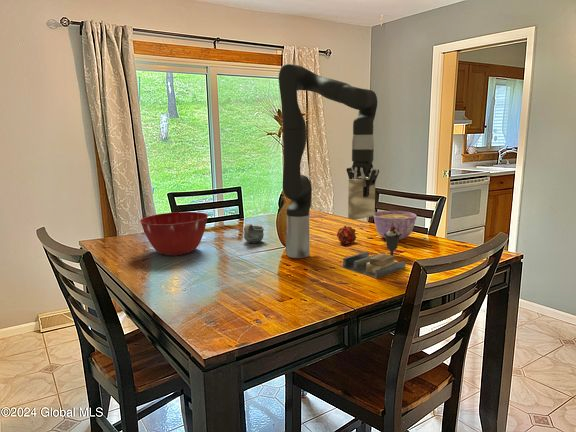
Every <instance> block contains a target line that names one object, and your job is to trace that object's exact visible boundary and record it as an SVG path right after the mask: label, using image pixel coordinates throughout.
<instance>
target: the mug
mask: <svg viewBox="0 0 576 432" xmlns="http://www.w3.org/2000/svg"><path fill="white" fill-rule="evenodd" d="M264 230H265V227H264V226H262V225H253V224H252V223H246V224H245V225H244V228H243V232H244V233H243V234H244V235H243V239H244V240H245V241H246V242H247V243H251V244H259V243H260V242H261V241H262V240H263V238H264V237H265V236H264Z"/></svg>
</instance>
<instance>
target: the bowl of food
mask: <svg viewBox="0 0 576 432" xmlns="http://www.w3.org/2000/svg"><path fill="white" fill-rule="evenodd" d="M372 217H373V220H374V225H375V230H376V232H377V233H378V235H380V236H381V237H382V238H384V239H385V240H386V237H385V235H384V234H385V233H387V232H388V231H389V229H390V228H392V227H393V226H395V228H396V229H397V230H399V233H400V234H401V236H400V237H399V241H401V240H403V239H406V238H407V237H409V236H410V235H411V234H412V233H413V229H414V227H415V223H416V221H417V217H418V216H417V214H416V213H413V212H410V211H403V210H383V211H381V210H380V211H377V212H376V211H375V216H372ZM392 223H393V225H392ZM391 225H392V227H391Z"/></svg>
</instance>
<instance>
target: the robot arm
mask: <svg viewBox="0 0 576 432" xmlns="http://www.w3.org/2000/svg"><path fill="white" fill-rule="evenodd" d="M278 88H279V95H280V103H281V117H282V118H281V120H282V145H283V146H282V147H283V149H282V150H283V151H282V152H283V170H282V192H283V194H284V196H285V197H286V198H287V199H289V200H291V201H290V204H289V205H287V208H286V232H285V255H287V257H288V258H291V259H292V258H293V259H305V258H309V257H310V250H311V249H310V210H311V206H312V190H313V189H312V183H311V180H310V178H309V177H307V176H306V175H304V174H302V173H301V163H302V158H303V155H304V151H305V149H306V145H307V125H306V121H305V118H304V116H303V113H302V111H301V108H300V106H299V103H298V91H306V92H307V91H309V92H313V93H316V94H318V95H320V96H322V97H324V98H325V99H327V100H330V101H333V102H335V103H336V102H337V103H339V104H343V105H345V106H346V107H348V108H351V109H354V110H357V111H358V115H357V117H356V118H354V119H353V121H352V122H353V123H352V138H351V139H352V140H351V162H352V165H351V166H350V167H347V168H346V173H347V175H348V181H349V180H350V179H359V178H362V180H363V185H364V187H363V197H368V196H369V187H370V186H371V185H374V184H375V185H376V182H377V179H378V176H379V173H380V169H376V168H374V166H373V161H374V153H375V152H374V146H375V145H374V143H375V141H374V121H375V118H376V113H377V107H378V96H377V94H376V92H375V91H373V90H371V89H366V88H360V87H356V86H352V85H351V84H349V83H346V82H343V81H340V80H337V79H334V78H330V77H324V76H321V75H319V74H317V73H314V72H312V71H311V70H309V69H307V68H306V67H304V66H301V65H298V64H292V63H286V64H283V65H282V67H280V70H279V72H278ZM366 180H367V181H366Z"/></svg>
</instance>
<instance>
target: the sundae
mask: <svg viewBox="0 0 576 432" xmlns="http://www.w3.org/2000/svg"><path fill="white" fill-rule="evenodd" d="M392 225H393V223H392ZM392 225H391V227H392ZM384 235H385V237H386V239H385V244H386V248H387V249H388V250H389V253H390V254H389V255H392V256H394V257H395V255H394V252H395V250H397V249H398V246H399V241H400V240H399V237H400V236H401V234H400V233H399V230H397V229H396V228H395V226H393V227H392V228H390V229H389V231H388V232H387V233H385V234H384ZM385 237H384V238H385Z"/></svg>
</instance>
